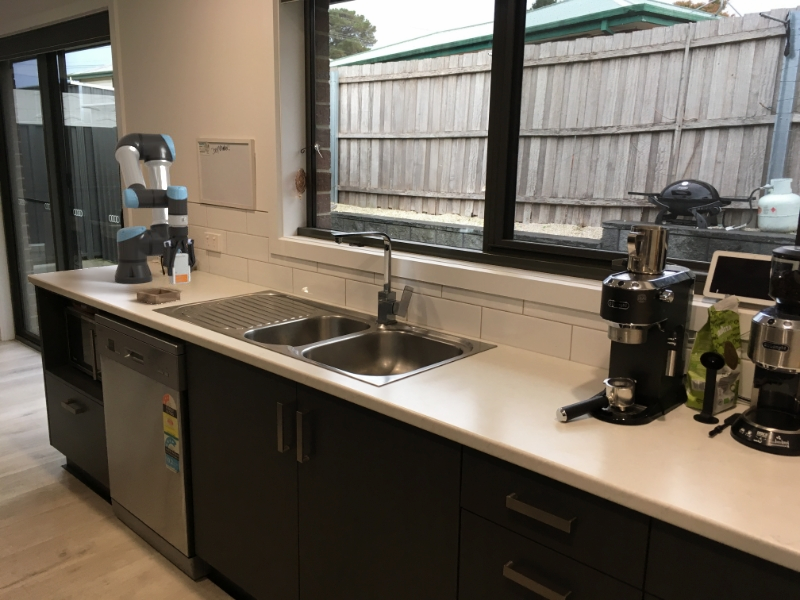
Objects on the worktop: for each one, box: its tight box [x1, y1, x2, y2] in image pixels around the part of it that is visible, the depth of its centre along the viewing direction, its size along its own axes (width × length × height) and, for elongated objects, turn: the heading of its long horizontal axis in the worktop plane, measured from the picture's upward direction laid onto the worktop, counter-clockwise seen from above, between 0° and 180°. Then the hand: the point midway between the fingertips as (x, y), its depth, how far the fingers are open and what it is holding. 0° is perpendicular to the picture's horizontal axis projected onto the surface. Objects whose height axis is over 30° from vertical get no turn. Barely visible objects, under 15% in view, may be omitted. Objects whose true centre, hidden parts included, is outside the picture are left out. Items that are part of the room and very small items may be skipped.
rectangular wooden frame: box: [136, 287, 181, 305], centre depth 243 cm, size 11×11×3 cm
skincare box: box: [173, 252, 189, 285], centre depth 257 cm, size 6×4×12 cm
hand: (179, 282), depth 258 cm, fingers closed on skincare box, 7 cm apart
